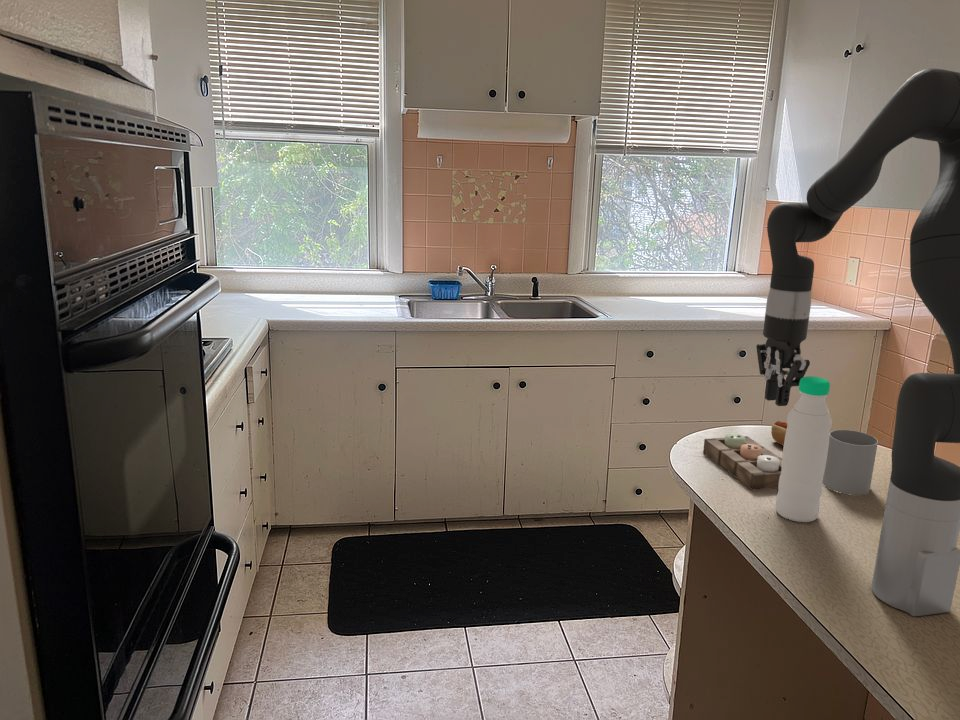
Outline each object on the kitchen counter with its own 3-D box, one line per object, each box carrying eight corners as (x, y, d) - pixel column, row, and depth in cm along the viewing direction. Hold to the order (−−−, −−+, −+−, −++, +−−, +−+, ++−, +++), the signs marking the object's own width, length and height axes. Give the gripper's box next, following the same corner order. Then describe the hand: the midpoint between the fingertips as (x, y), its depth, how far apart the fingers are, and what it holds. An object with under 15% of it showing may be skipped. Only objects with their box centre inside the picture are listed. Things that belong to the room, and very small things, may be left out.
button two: (747, 453, 155) (749, 439, 154) (730, 454, 154) (731, 440, 153) (737, 446, 159) (739, 432, 158) (720, 447, 158) (721, 433, 157)
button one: (782, 476, 144) (784, 461, 143) (763, 478, 143) (765, 463, 142) (770, 468, 147) (771, 453, 147) (751, 469, 146) (753, 455, 146)
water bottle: (822, 526, 128) (843, 386, 121) (778, 521, 129) (797, 383, 122) (812, 507, 134) (832, 374, 128) (771, 503, 136) (789, 371, 129)
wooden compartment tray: (799, 486, 143) (801, 471, 142) (752, 489, 141) (754, 475, 140) (745, 449, 161) (747, 436, 160) (703, 452, 159) (704, 439, 158)
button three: (764, 464, 149) (766, 449, 148) (746, 465, 148) (748, 451, 148) (753, 456, 153) (754, 442, 152) (735, 458, 152) (737, 443, 151)
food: (764, 441, 166) (766, 420, 165) (783, 438, 168) (785, 417, 167) (813, 464, 154) (816, 441, 153) (833, 460, 156) (836, 438, 155)
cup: (880, 491, 141) (888, 442, 139) (847, 498, 138) (855, 448, 136) (844, 474, 149) (851, 427, 146) (812, 480, 146) (819, 432, 143)
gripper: (830, 320, 131) (816, 413, 135) (782, 305, 144) (772, 390, 149) (792, 321, 129) (780, 415, 134) (747, 306, 142) (738, 392, 147)
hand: (775, 402), depth 141 cm, fingers open, 3 cm apart
